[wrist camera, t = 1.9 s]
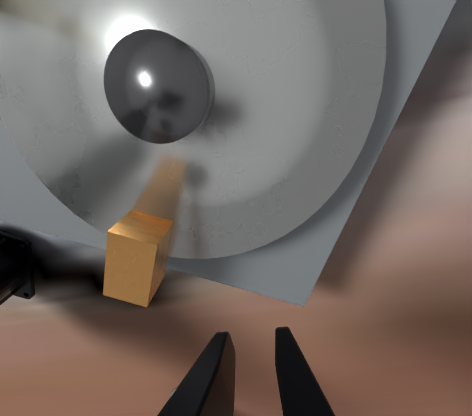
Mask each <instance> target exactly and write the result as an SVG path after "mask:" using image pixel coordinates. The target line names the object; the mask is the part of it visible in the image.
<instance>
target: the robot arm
mask: <svg viewBox="0 0 472 416" xmlns="http://www.w3.org/2000/svg"><path fill="white" fill-rule="evenodd" d="M12 295H15V296H18V297H22V298H25V299H31V298H32V297H33V296H34V295H35V286H34V272H33V259H32V246H31V242H30V241H29V240H28V239H26V238H24V237H20V236H17V235H13V234H10V233H6V232H3V231H0V305H1V304H2V303H4V302H5V301H6V300H7V299H9V298H10V297H11V296H12ZM275 366H276V373H277V379H278V386H279V392H280V398H281V404H282V410H283V416H335V414H334V412H333V411H332V409H331V407H330V405H329V403H328V401H327V399H326V397H325V395H324V393H323V392H322V390H321V388H320V386H319V384H318V382H317V380H316V378H315V376H314V374H313V373H312V371H311V369H310V367H309V365H308V363H307V361H306V359H305V357H304V355H303V354H302V352H301V350H300V348H299V346H298V344H297V342H296V340H295V338H294V336H293V335H292V333H291V331H290V329H289V328H288V327H277V328H276V330H275ZM234 390H235V349H234V346H233V343H232V340H231V337H230V334H229V332H218V333H216V334H215V335H214V337H213V338H212V339H211V341H210V342H209V344H208V345H207V346H206V348H205V349H204V351H203V352H202V354H201V355H200V356H199V358H198V359H197V361H196V362H195V363H194V365H193V366H192V368H191V369H190V370H189V372H188V373H187V375H186V376H185V377H184V379H183V380H182V382H181V383H180V385H179V386H178V387H177V389H176V390H175V392H174V393H173V394H172V396H171V397H170V399H169V400H168V401H167V403H166V404H165V406H164V407H163V409H162V410H161V411H160V413H159V414H158V416H233V412H234Z"/></svg>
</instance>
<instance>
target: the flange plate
mask: <svg viewBox="0 0 472 416" xmlns="http://www.w3.org/2000/svg"><path fill="white" fill-rule="evenodd" d="M385 62H386V15H385V6H384V0H0V118H1V120H2V122H3V123H4V125H5V127H6V129H7V131H8V133H9V135H10V137H11V139H12V141H13V143H14V144H15V146H16V147H17V149H18V150H19V152H20V154H21V155H22V157H23V158H24V160H25V161H26V163H27V164H28V165H29V167H30V168H31V169H32V171H33V172H34V173H35V174H36V176H37V177H38V178H39V180H40V181H41V182H42V183H43V184H44V185H45V186H46V187H47V188H48V189H49V190H50V192H51V193H52V194H53V195H54V196H55V197H56V198H57V199H58V200H59V201H60V202H62V203H63V204H64V205H65V206H66V207H67V208H68V209H70V210H71V211H72V212H73V213H74V214H75V215H77V216H78V217H80V218H81V219H82V220H84V221H85V222H86V223H88V224H89V225H91V226H92V227H94V228H96V229H97V230H99V231H101V232H102V233H104V234H106V235H107V243H106V258H105V273H104V288H103V295H105V296H109V297H112V298H116V299H119V300H123V301H126V302H130V303H133V304H137V305H140V306H144V307H148V305H149V303H150V301H151V299H152V297H153V296H154V294H155V292H156V290H157V288H158V287H159V285H160V283H161V281H162V279H163V277H164V273H165V267H166V262H167V257H176V258H185V259H210V258H219V257H227V256H231V255H236V254H240V253H244V252H248V251H250V250H253V249H256V248H259V247H262V246H264V245H267V244H269V243H271V242H273V241H275V240H277V239H279V238H281V237H282V236H284V235H286V234H287V233H289V232H290V231H292V230H293V229H295V228H296V227H298V226H299V225H301V224H302V223H304V222H305V221H306V220H307V219H308V218H309V217H311V216H312V215H313V214H314V213H315V212H316V211H318V210H319V209H320V208H321V207H322V206H323V204H324V203H325V202H326V201H327V200H328V199H329V198H330V197H331V196H332V195H333V193H334V192H335V191H336V190H337V189H338V187H339V186H340V184H341V183H342V182H343V180H344V179H345V177H346V176H347V175H348V173H349V172H350V170H351V169H352V167H353V165H354V163H355V161H356V159H357V157H358V156H359V154H360V152H361V150H362V148H363V146H364V144H365V141H366V139H367V136H368V134H369V131H370V129H371V126H372V123H373V121H374V118H375V114H376V110H377V106H378V102H379V99H380V95H381V91H382V84H383V77H384V69H385Z"/></svg>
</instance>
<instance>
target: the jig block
mask: <svg viewBox="0 0 472 416" xmlns="http://www.w3.org/2000/svg"><path fill="white" fill-rule="evenodd" d="M455 2H456V0H384V6H385V15H386V62H385V69H384V77H383V84H382V91H381V95H380V99H379V102H378V106H377V110H376V114H375V118H374V121H373V123H372V126H371V129H370V131H369V134H368V136H367V139H366V141H365V144H364V146H363V148H362V150H361V152H360V154H359V156H358V157H357V159H356V161H355V163H354V165H353V167H352V169H351V170H350V172H349V173H348V175H347V176H346V177H345V179H344V180H343V182H342V183H341V184H340V186H339V187H338V189H337V190H336V191H335V192H334V193H333V195H332V196H331V197H330V198H329V199H328V200H327V201H326V202H325V203H324V204H323V206H322V207H321V208H320V209H319V210H318V211H316V212H315V213H314V214H313V215H312V216H311V217H309V218H308V219H307V220H306V221H305V222H304V223H302V224H301V225H299V226H298V227H296V228H295V229H293V230H292V231H290V232H289V233H287V234H286V235H284V236H282V237H281V238H279V239H277V240H275V241H273V242H271V243H269V244H267V245H264V246H262V247H259V248H256V249H253V250H250V251H248V252H244V253H240V254H236V255H231V256H227V257H219V258H210V259H185V258H176V257H167V262H166V268H170V269H173V270H177V271H180V272H184V273H188V274H191V275H195V276H198V277H202V278H205V279H209V280H212V281H216V282H219V283H223V284H226V285H230V286H233V287H237V288H240V289H244V290H247V291H251V292H254V293H258V294H261V295H265V296H268V297H272V298H275V299H279V300H282V301H286V302H289V303H293V304H296V305H300V306H305V304H306V302H307V300H308V298H309V296H310V294H311V292H312V290H313V288H314V286H315V284H316V282H317V279H318V277H319V275H320V273H321V271H322V269H323V267H324V265H325V263H326V261H327V259H328V257H329V255H330V253H331V251H332V249H333V247H334V245H335V243H336V241H337V239H338V237H339V235H340V233H341V231H342V229H343V227H344V225H345V223H346V221H347V219H348V217H349V215H350V213H351V211H352V209H353V207H354V205H355V203H356V201H357V199H358V197H359V195H360V193H361V191H362V189H363V187H364V185H365V183H366V181H367V179H368V177H369V175H370V173H371V171H372V169H373V167H374V165H375V163H376V161H377V159H378V157H379V155H380V153H381V151H382V149H383V147H384V145H385V143H386V141H387V139H388V137H389V135H390V133H391V131H392V129H393V127H394V125H395V123H396V121H397V119H398V117H399V115H400V113H401V111H402V109H403V107H404V105H405V103H406V101H407V99H408V97H409V95H410V93H411V91H412V89H413V87H414V85H415V83H416V81H417V79H418V77H419V75H420V73H421V71H422V69H423V67H424V65H425V63H426V61H427V59H428V57H429V55H430V53H431V51H432V49H433V47H434V45H435V43H436V40H437V38H438V36H439V34H440V32H441V30H442V28H443V26H444V24H445V22H446V20H447V18H448V16H449V14H450V12H451V10H452V8H453V6H454V4H455ZM0 220H1V221H5V222H8V223H12V224H15V225H19V226H22V227H26V228H29V229H33V230H36V231H40V232H43V233H47V234H50V235H54V236H57V237H61V238H64V239H68V240H72V241H75V242H79V243H82V244H86V245H89V246H93V247H96V248H100V249H103V250H106V243H107V235H106V234H104V233H102V232H101V231H99V230H97V229H96V228H94V227H92V226H91V225H89V224H88V223H86V222H85V221H84V220H82V219H81V218H80V217H78V216H77V215H75V214H74V213H73V212H72V211H71V210H70V209H68V208H67V207H66V206H65V205H64V204H63V203H62V202H60V201H59V200H58V199H57V198H56V197H55V196H54V195H53V194H52V193H51V192H50V190H49V189H48V188H47V187H46V186H45V185H44V184H43V183H42V182H41V181H40V180H39V178H38V177H37V176H36V174H35V173H34V172H33V171H32V169H31V168H30V167H29V165H28V164H27V163H26V161H25V160H24V158H23V157H22V155H21V154H20V152H19V150H18V149H17V147H16V146H15V144H14V143H13V141H12V139H11V137H10V135H9V133H8V131H7V129H6V127H5V125H4V123H3V122H2V120H1V118H0Z"/></svg>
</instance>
